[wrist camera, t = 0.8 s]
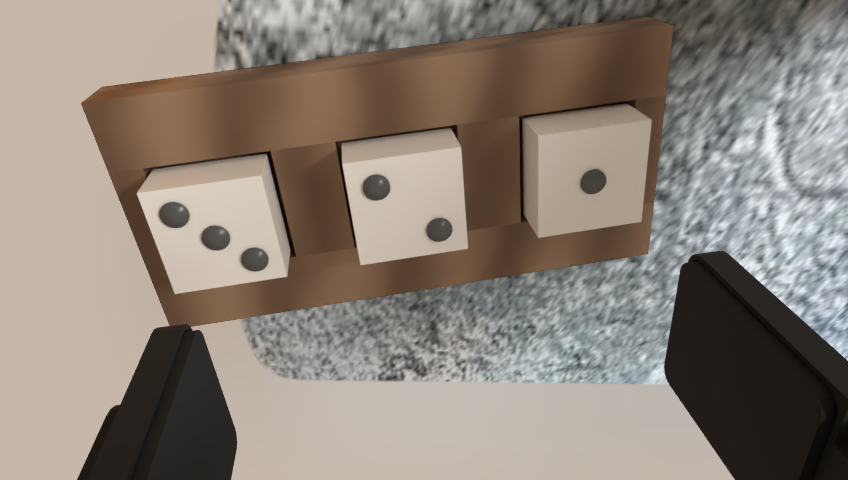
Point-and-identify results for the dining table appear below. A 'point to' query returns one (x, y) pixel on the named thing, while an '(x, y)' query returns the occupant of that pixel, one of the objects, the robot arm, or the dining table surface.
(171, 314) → the panel
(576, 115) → the tile one
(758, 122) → the dining table surface
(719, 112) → the dining table surface
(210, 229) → the tile three
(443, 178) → the tile two
